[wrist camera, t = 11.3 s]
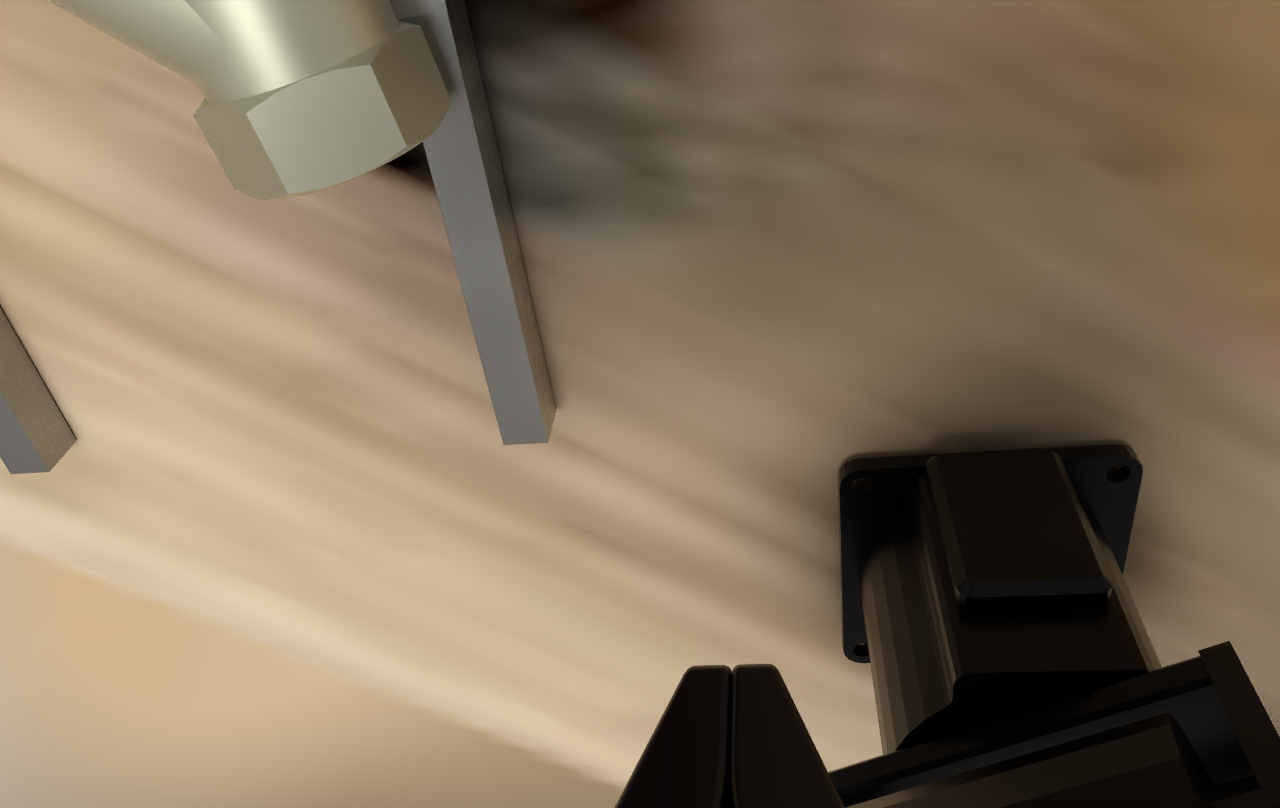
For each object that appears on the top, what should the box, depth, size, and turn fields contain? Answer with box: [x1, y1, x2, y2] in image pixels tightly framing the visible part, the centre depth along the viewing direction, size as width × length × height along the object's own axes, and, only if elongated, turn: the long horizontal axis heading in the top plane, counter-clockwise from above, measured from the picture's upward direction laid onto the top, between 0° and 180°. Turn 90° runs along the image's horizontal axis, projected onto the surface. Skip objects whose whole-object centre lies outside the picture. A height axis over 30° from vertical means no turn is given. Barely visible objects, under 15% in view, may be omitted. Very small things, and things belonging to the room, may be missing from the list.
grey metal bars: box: [0, 0, 556, 474], centre depth 18 cm, size 19×14×2 cm
